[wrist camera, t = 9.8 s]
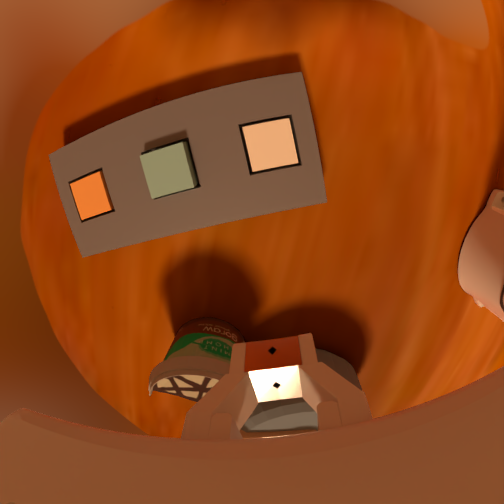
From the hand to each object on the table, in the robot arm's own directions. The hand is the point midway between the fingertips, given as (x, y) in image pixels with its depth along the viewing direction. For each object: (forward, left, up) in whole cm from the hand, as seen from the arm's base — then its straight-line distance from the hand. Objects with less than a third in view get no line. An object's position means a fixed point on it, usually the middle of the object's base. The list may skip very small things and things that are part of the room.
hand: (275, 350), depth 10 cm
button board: (+7, -6, -20) cm, 22 cm away
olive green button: (+7, -6, -17) cm, 20 cm away
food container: (+9, +14, -20) cm, 26 cm away
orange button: (+16, -6, -18) cm, 25 cm away
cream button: (-2, -6, -18) cm, 19 cm away
